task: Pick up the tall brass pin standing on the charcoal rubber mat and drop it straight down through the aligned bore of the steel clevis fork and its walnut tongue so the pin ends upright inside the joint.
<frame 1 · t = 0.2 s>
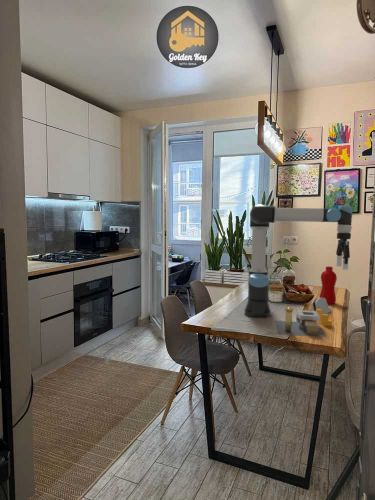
hand: (341, 267, 206), 28 cm above the table, tool pointing down, fingers open, 13 cm apart
clevis: (307, 326, 180), resting on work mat
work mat: (298, 329, 177), on the table
brass pin: (288, 331, 171), resting on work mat
grey rounded block: (320, 313, 211), on the table
pipe clamp: (323, 324, 188), on the table
water bottle: (326, 302, 237), on the table
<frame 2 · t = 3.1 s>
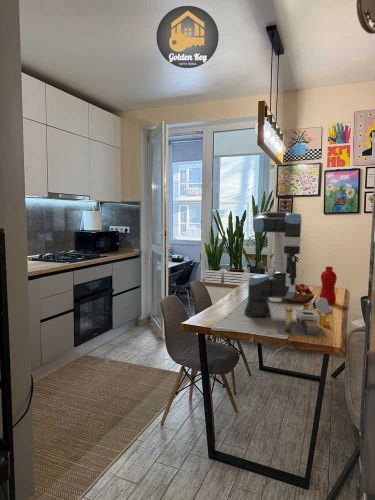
hand: (290, 288, 169), 22 cm above the table, tool pointing down, fingers open, 13 cm apart
pipe clamp: (320, 323, 188), on the table
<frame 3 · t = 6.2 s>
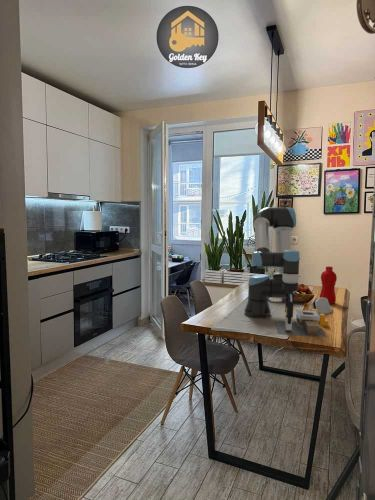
hand: (288, 328, 171), 2 cm above the table, tool pointing down, fingers closed on brass pin, 3 cm apart
brass pin: (288, 331, 171), point 1 cm above the table, touching gripper, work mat
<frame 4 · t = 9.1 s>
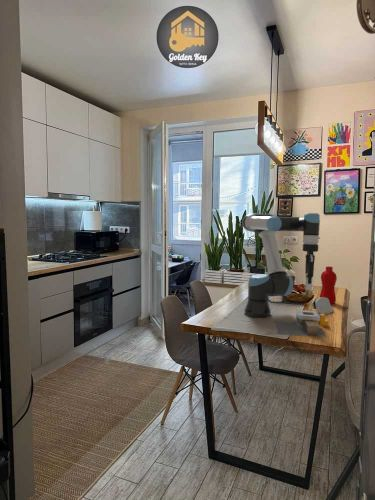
hand: (308, 289, 178), 21 cm above the table, tool pointing down, fingers closed on brass pin, 2 cm apart
brass pin: (308, 296, 178), point 16 cm above the table, touching gripper
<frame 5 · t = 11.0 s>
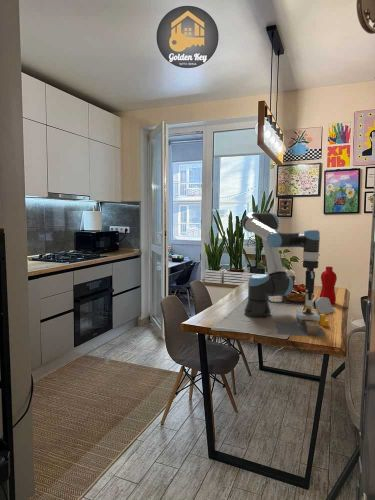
hand: (308, 305, 179), 12 cm above the table, tool pointing down, fingers closed on brass pin, 2 cm apart
brass pin: (308, 312, 179), point 8 cm above the table, touching gripper
when the fingers open (11 cm above the table, at t = 12.3 s): brass pin drops 6 cm, resting on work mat.
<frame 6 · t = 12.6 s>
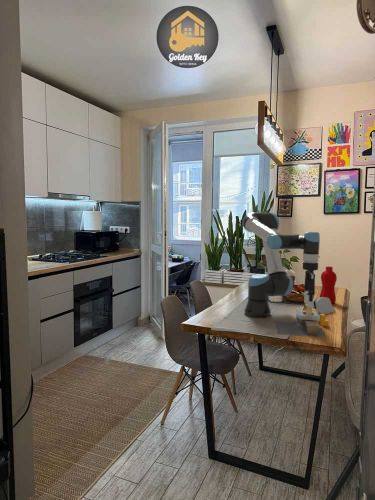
hand: (308, 305, 179), 12 cm above the table, tool pointing down, fingers open, 9 cm apart
brass pin: (308, 327, 179), point 1 cm above the table, touching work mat
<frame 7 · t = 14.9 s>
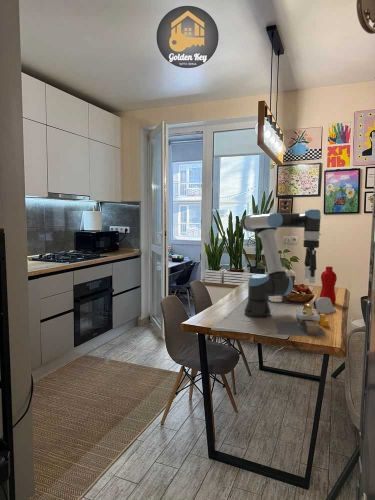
hand: (309, 280, 178), 25 cm above the table, tool pointing down, fingers open, 13 cm apart
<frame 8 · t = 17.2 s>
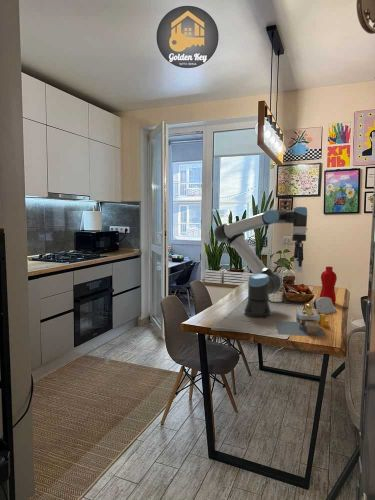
hand: (297, 270, 200), 27 cm above the table, tool pointing down, fingers open, 13 cm apart
at the end: brass pin 0.8 cm off-centre on the clevis, point 0.0 cm above the clevis's base; brass pin tilted 0°; the gripper is holding nothing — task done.
